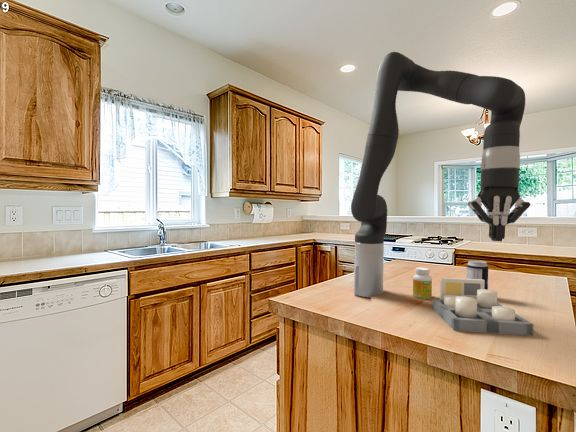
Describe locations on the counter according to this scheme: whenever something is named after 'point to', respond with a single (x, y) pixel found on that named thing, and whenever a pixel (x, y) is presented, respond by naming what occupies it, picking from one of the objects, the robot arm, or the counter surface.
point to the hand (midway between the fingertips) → (496, 240)
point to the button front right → (503, 313)
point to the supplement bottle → (422, 284)
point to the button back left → (449, 300)
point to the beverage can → (478, 271)
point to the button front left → (466, 307)
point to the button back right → (486, 298)
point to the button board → (484, 316)
